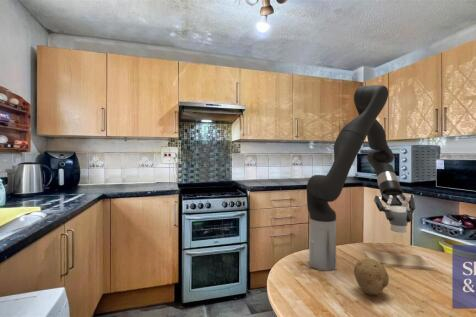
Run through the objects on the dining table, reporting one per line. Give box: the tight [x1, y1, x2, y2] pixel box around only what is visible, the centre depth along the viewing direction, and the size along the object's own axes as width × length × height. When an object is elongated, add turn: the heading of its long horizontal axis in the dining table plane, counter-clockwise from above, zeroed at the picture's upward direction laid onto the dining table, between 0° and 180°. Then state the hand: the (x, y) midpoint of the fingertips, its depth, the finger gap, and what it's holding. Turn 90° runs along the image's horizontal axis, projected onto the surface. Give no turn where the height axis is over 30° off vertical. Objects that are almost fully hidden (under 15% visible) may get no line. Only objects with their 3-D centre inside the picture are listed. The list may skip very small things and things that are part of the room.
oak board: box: [363, 250, 436, 271], centre depth 94 cm, size 20×11×1 cm, turn 76°
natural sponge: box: [353, 257, 390, 296], centre depth 72 cm, size 9×9×10 cm
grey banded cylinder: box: [389, 206, 408, 234], centre depth 93 cm, size 6×6×9 cm
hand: (400, 220), depth 91 cm, fingers closed on grey banded cylinder, 5 cm apart
